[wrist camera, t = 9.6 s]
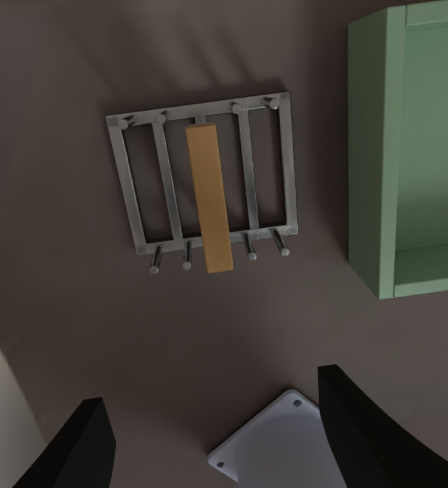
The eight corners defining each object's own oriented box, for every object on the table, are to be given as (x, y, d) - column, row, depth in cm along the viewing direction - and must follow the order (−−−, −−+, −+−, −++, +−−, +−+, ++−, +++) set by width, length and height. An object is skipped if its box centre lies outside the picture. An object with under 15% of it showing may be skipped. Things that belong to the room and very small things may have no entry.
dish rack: (288, 90, 18) (318, 92, 14) (296, 230, 21) (324, 271, 16) (107, 114, 18) (76, 124, 14) (138, 251, 21) (120, 299, 16)
